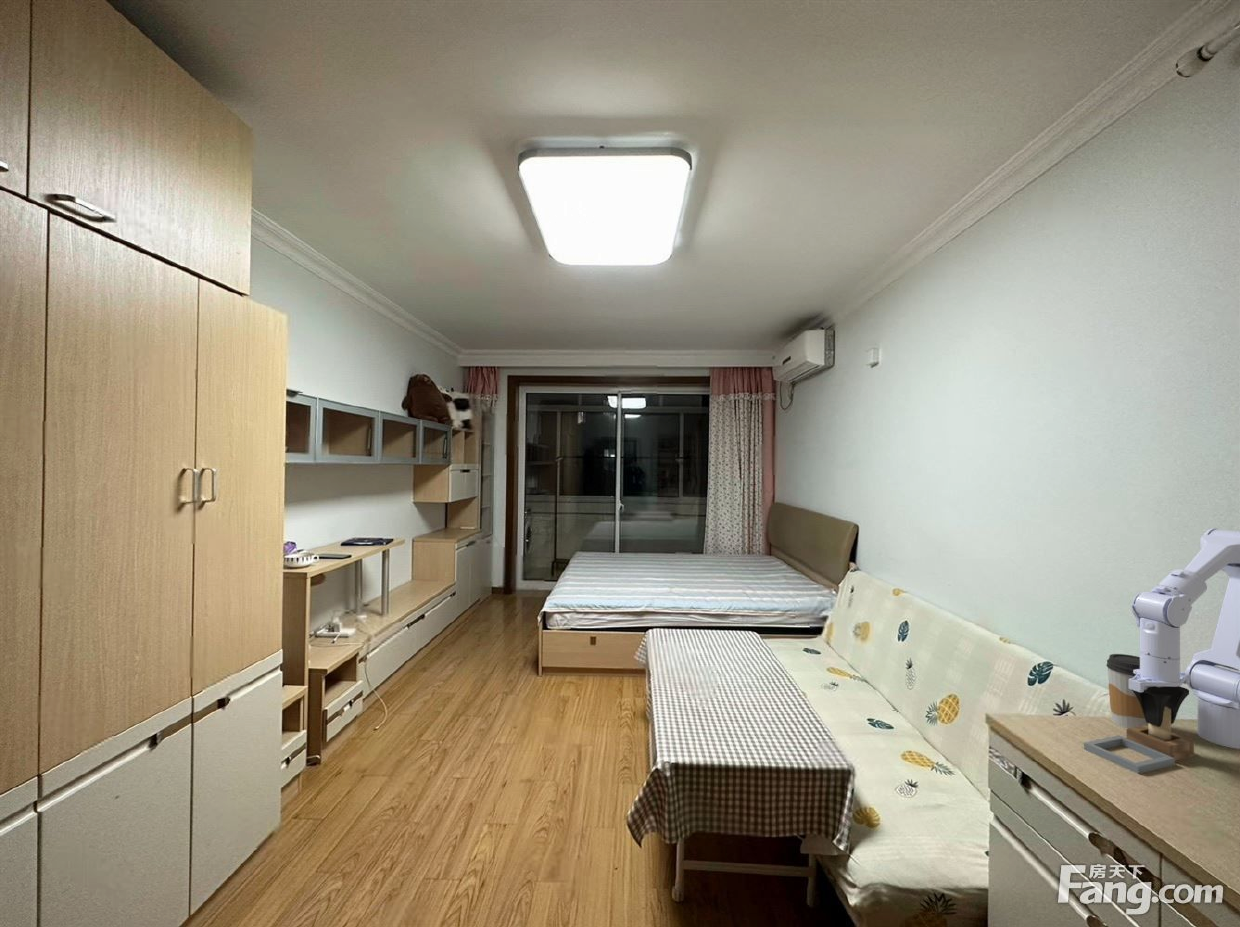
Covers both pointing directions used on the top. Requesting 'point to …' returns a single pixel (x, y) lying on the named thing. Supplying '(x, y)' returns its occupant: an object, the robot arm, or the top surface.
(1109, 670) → the coffee cup
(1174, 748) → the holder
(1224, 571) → the robot arm
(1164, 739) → the dowel
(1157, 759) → the tray
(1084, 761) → the top surface
